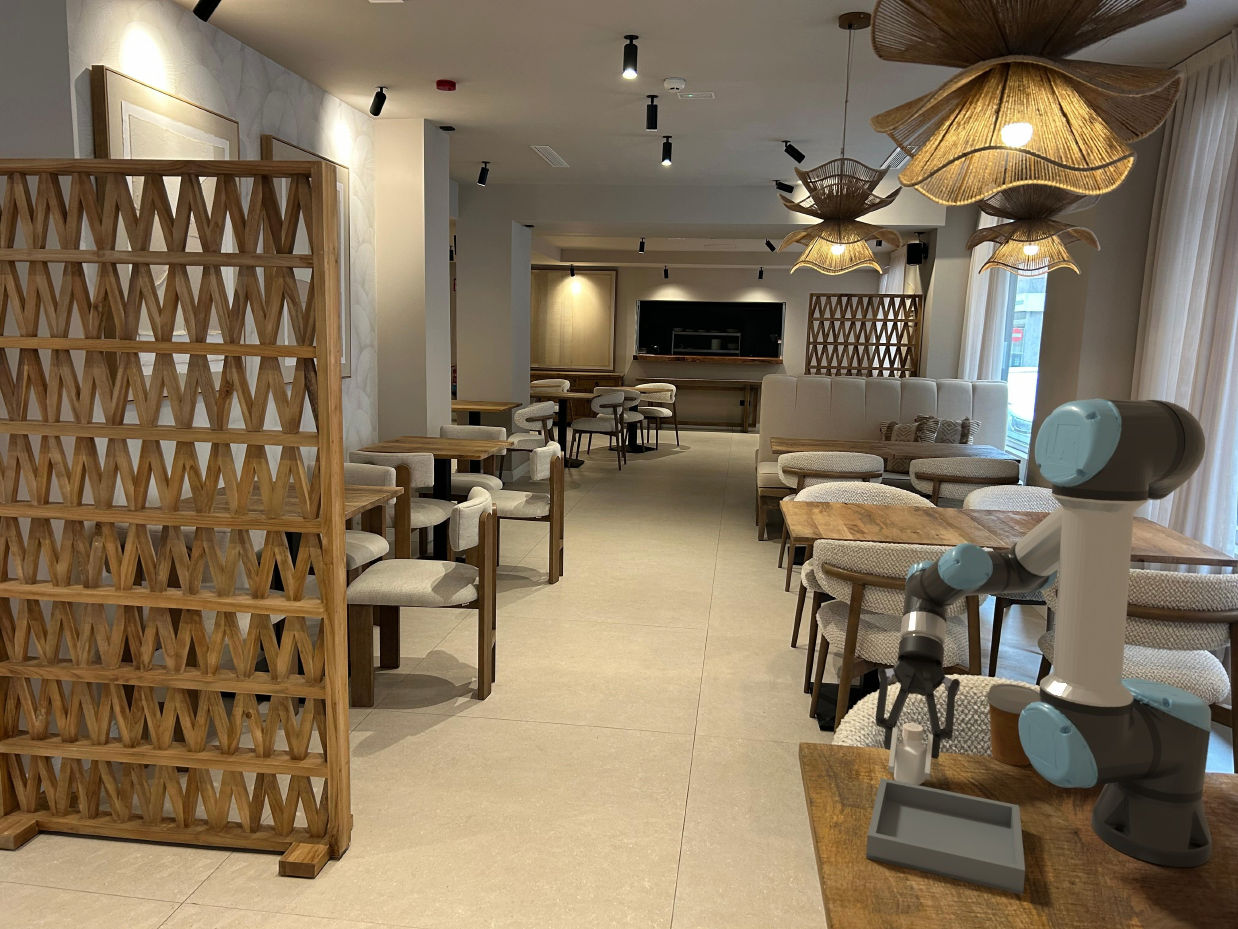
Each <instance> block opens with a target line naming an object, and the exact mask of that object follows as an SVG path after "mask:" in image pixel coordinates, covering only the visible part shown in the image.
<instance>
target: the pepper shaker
mask: <svg viewBox="0 0 1238 929" xmlns="http://www.w3.org/2000/svg"><path fill="white" fill-rule="evenodd" d="M901 737H902V741H900V742H898V743H897V746H896V756H895V765H894V773H893V774H894V775H893V780H894V781H899V782H904V783H909V784H914V785H919V786H921V784H923V783H925V781H926V779H925V764H926V753H927V745H926V746H925V745H924V744H923V740H924V727H923V726H922V725H920V724H919V723H913V722H907V723H904V724H903V725H902V733H901Z"/></svg>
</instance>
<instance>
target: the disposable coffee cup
mask: <svg viewBox="0 0 1238 929" xmlns="http://www.w3.org/2000/svg"><path fill="white" fill-rule="evenodd" d="M1039 692H1040V691H1038V690H1036V689H1034V688H1031V687H1028V686H1024V685H1021V684H1016V683H1014V684H1013V683H995V684H993V685H991V686H990V687H989V690H988V692H986V698H987V701H988V703H989V704H988V705H989V709H988V710H989V722H990V723H989V724H990V725H989V726H990V740H991V742H990V744H991V756H992V757H993V758H994V759H996V760H997V761H999V762H1001V763H1004V764H1007V765H1012V766H1019V767H1020V766H1026V765H1029V764H1031V762H1030V760H1029V758H1028V757H1027V755H1026V754H1025V751H1024V749H1023V746H1022V743H1021V740H1020V735H1019V718H1020V714H1021V712H1022V710H1024V709H1026V706H1028V705H1030V704H1031V703H1032V702H1039Z"/></svg>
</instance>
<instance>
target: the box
mask: <svg viewBox="0 0 1238 929" xmlns="http://www.w3.org/2000/svg"><path fill="white" fill-rule="evenodd" d="M1020 812H1021V811H1020V805H1018V804H1014V803H1008V802H1003V801H1000V800H999V801H998V800H995V799H994V800H993V799H989V798H983V797H978V796H973V795H970V794H969V795H968V794H964V793H959V792H953V791H947V790H943V789H938V788H933V787H927V786H924V785H914V784H909V783H904V782H899V781H896V780H895V779H888V778H883V777H880V780H879V785H878V788H877V791H876V797H875V800H874V807H873V810H872V813H871V814H872V815H871V817H870V818H871V819H870V822H869V827H868V831H867V837H866V838H867V840H866V854H865V855H866V856H865V859H866V860H867V859H868V860H872V861H876V862H879V863H883V864H888V865H892V866H893V865H894V866H897V867H901V868H905V869H909V870H915V871H918V872H923V873H926V874H931V875H936V876H940V877H944V878H949V879H952V880H957V881H960V882H966V883H969V884H974V885H977V886H978V885H979V886H982V887H986V888H987V887H988V888H992V889H994V890H995V889H996V890H1000V891H1003V892H1008V893H1013V894H1017V895H1021V896H1024V888H1025V878H1026V875H1025V874H1026V864H1025V855H1024V853H1025V852H1024V845H1023V844H1024V842H1023V835H1022V823H1021V813H1020Z"/></svg>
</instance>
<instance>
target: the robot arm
mask: <svg viewBox="0 0 1238 929" xmlns="http://www.w3.org/2000/svg"><path fill="white" fill-rule="evenodd" d="M1034 444H1035V445H1034V458H1035V463H1036V466H1037V467H1040V468H1039V473H1040V474H1041V476H1042V477H1043V479H1045V480H1046V481H1048V482H1049V483H1051V485H1052V486H1051V496H1052V497H1053V498H1054V499H1055V500H1056V501H1057V502H1058V504H1060V505H1059V506H1058V507H1057V508H1055V509H1054V510H1053V511H1052V512H1051V513H1049V515H1047V516H1046V517H1045V518H1044V519H1043V520H1042V521H1041V522H1039V523H1038V524H1037V525H1036V526H1034V528H1032V529H1031V530H1030V531H1029V532H1027V533H1026V534H1025V535H1024V536H1023V537H1022V538H1020V540H1018V541H1016V543H1014V544H1013V545H1012V546H1011V547H1009V548H1008V549H1005V550H1004V549H1002V550H985V549H984V548H982V547H981V546H978V545H976V544H973V543H970V542H963V543H960V544H957V545H956V546H954V547H953V548H950V549H949V550H946V551H945V553H943V554H942V556H940V557H939V558H938V559H937V560H935V561H931V560H923V561H920V562H916V563H913V564H912V565H911V566H910V567H909V568H908V572H907V576H906V580H905V585H904V588H905V590H904V599H903V600H904V601H903V610H902V619H901V625H900V634H899V639H900V641H899V643H898V644H899V645H898V652H897V659H896V660H897V661H896V663H895V664H894V665H893V668H891V667H890V668H884V667H882V666H881V667H879V668H878V669H877V673H878V674H877V675H878V680H879V688H878V689H879V690H878V696H877V704H876V712H875V725H876V726H877V727H879V728H882V729H884V730H885V732H884V733H885V734H884V739H883V747H884V750H887V751H888V750H889V752H890V753H889V757H888V758H889V760H888V772H889V773H893V774H894V769H895V756H896V746H897V744H898V737H899V732H898V730H899V729H898V728H897V724H898V721H899V719H900V717H901V713H902V711H903V709H904V706H905V704H906V701H907V699H908V698H909V695H919V696H922V697H924V698H925V702H926V707H927V712H928V718H929V724H930V729H931V733H928V734H927V744H926V748H927V753H926V764H925V780H931V779H930V778H931V766H932V759H936V760H938V759H939V758H940V749H941V748H940V747H941V741H942V740H952V739H953V733H954V721H955V720H954V718H955V704H956V696H957V694H958V693H959V691H960V687H961V681H960V680H959V679H958V678H953V679H952V678H949V677H948V676H946V674H945V672H944V669H943V668H944V659H945V658H944V657H945V648H944V646H945V644H946V632H947V619H948V610H949V607H951V606H953V605H955V604H956V603H957V602H959V601H960V600H962V599H963V598H964V597H967V596H978V595H983V596H984V595H996V594H997V595H998V594H1011V593H1012V594H1015V593H1018V594H1019V593H1025V594H1029V593H1030V594H1032V593H1036V592H1038V591H1039V592H1040V591H1041V592H1042V591H1046V590H1049V589H1050V588H1052V587H1053V585H1055V581H1056V579H1057V577H1058V579H1057V580H1058V583H1057V598H1056V599H1057V600H1056V610H1055V611H1056V612H1055V614H1056V615H1055V629H1054V632H1055V633H1054V645H1053V646H1054V648H1053V660H1052V661H1053V662H1052V671H1051V672H1050V673H1049V674H1048V675H1046V676H1045V677H1043V678H1042V679H1041V680H1040V683H1039V691H1038V692H1039V702H1032V703H1031V704H1030V705H1028V706H1026V709H1024V710H1022V712H1021V714H1020V718H1019V735H1020V740H1021V743H1022V746H1023V749H1024V751H1025V754H1026V755H1027V757H1028V758H1029V760H1030V764H1031V766H1032V767H1033V768H1034V770H1036V772H1037V773H1038V774H1039V775H1040V776H1041V777H1043V779H1044V780H1046V781H1048V782H1050V784H1053V785H1055V786H1057V787H1060V788H1067V789H1068V788H1069V789H1072V788H1082V789H1089V788H1092V787H1094V786H1100V785H1104V786H1103V787H1102V790H1101V792H1100V794H1099V796H1098V798H1097V799H1096V801H1095V802H1094V805H1093V807H1092V810H1091V811H1092V813H1091V821H1090V822H1091V823H1090V825H1091V828H1092V829H1093V832H1094V833H1095V835H1097V837H1099V838H1100V839H1101V840H1102V841H1103V842H1105V843H1106V844H1107V845H1109V846H1111V847H1112V848H1114V849H1116V850H1118V851H1120V852H1121V853H1124V854H1125V855H1128V856H1130V857H1133V858H1136V859H1138V860H1142V861H1145V862H1147V863H1152V864H1156V865H1160V866H1167V867H1173V868H1174V867H1175V868H1193V867H1198V866H1202V865H1204V864H1206V863H1207V862H1208V861H1209V860H1210V859H1211V854H1212V846H1213V841H1212V840H1213V839H1212V835H1211V831H1210V827H1209V822H1208V819H1207V816H1206V811H1205V806H1204V804H1203V793H1204V792H1203V791H1204V785H1205V777H1206V769H1207V761H1208V760H1207V759H1208V755H1209V754H1208V753H1209V745H1210V736H1211V733H1212V730H1213V729H1212V727H1211V723H1212V722H1211V721H1212V710H1211V708H1210V705H1209V704H1208V703H1207V702H1206V701H1205V700H1204V699H1203V698H1201V697H1200V696H1198V695H1196V694H1194V693H1192V692H1190V691H1187V690H1185V689H1182V688H1179V687H1177V686H1173V685H1171V684H1166V683H1162V682H1159V681H1157V680H1156V681H1155V680H1150V679H1144V678H1137V677H1126V678H1123V669H1124V668H1123V666H1124V654H1125V641H1126V640H1125V639H1126V627H1127V626H1126V625H1127V613H1128V612H1127V611H1128V598H1129V584H1130V571H1131V570H1130V569H1131V557H1132V556H1131V555H1132V544H1133V542H1132V540H1133V528H1134V515H1135V512H1136V511H1137V510H1138V509H1140V508H1141V507H1142V506H1143V505H1145V504H1146V503H1148V501H1159V500H1162V499H1164V498H1166V497H1168V496H1169V495H1170V494H1172V493H1173V492H1174V491H1176V490H1177V489H1178V488H1179V487H1181V486H1182V485H1184V484H1185V483H1186V482H1187V481H1188V480H1189V479H1190V478H1191V477H1192V476H1193V475H1194V474H1195V472H1196V471H1197V470H1198V468H1199V467H1200V466H1201V464H1202V461H1203V459H1204V457H1205V456H1204V455H1205V451H1206V437H1205V434H1204V430H1203V428H1202V425H1201V424H1200V423H1199V421H1198V419H1197V418H1196V417H1195V416H1194V415H1193V414H1192V413H1191V412H1190V411H1188V410H1187V409H1186V408H1185V407H1182V406H1181V405H1179V404H1176V403H1174V402H1170V401H1166V400H1161V399H1160V400H1159V399H1145V400H1143V399H1141V400H1139V399H1137V400H1136V399H1102V398H1099V397H1098V398H1094V399H1093V398H1092V399H1089V398H1088V399H1080V400H1073V401H1069V402H1065V403H1063V404H1060V406H1058V407H1056V408H1055V409H1054V410H1053V411H1052V413H1051V414H1050V415H1048V416H1047V417H1046V418H1045V420H1043V422H1042V424H1041V426H1040V428H1039V429H1038V433H1037V436H1036V439H1035V443H1034ZM893 677H895V678H896V680H897V682H898V684H899V685H900V686H899V691H898V693H897V696H896V698H895V700H894V702H893V705H892V706H891V707H892V708H891V709H890V710H891V711H889V715H888V717H887V718H886V717H885V715H886V714H885V713H886V705H887V699H888V690H889V689H888V688H889V683H891V682H892V679H893ZM941 685H944V690H945V691H946V693H947V696H946V698H947V700H946V710H945V725H944V726H945V727H944V728H941V726H940V719H939V716H938V709H937V705H936V700H935V698H936V697H935V691H937V689H938V688H939V687H941Z"/></svg>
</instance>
